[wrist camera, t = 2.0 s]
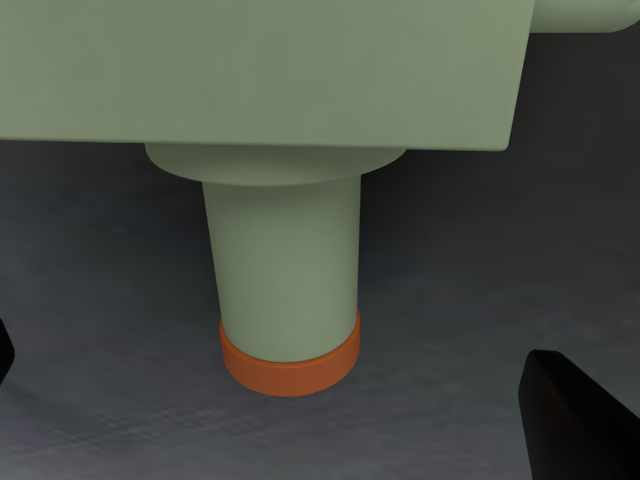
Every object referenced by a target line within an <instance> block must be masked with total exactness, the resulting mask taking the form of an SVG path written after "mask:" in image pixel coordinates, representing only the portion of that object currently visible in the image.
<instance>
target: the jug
mask: <svg viewBox="0 0 640 480" xmlns="http://www.w3.org/2000/svg"><path fill="white" fill-rule="evenodd" d="M638 20H640V0H0V140H31V141H74V142H118V143H145V148H146V153H147V155H148V156H149V158H150V160H151V161H152V162H153V163H154V164H155V165H157V166H158V167H159V168H161V169H163V170H165V171H167V172H169V173H172V174H174V175H177V176H180V177H184V178H187V179H191V180H196V181H201V182H202V186H203V192H204V199H205V206H206V213H207V220H208V227H209V233H210V240H211V247H212V254H213V261H214V268H215V275H216V281H217V288H218V295H219V302H220V309H221V319H220V323H219V332H220V339H221V346H222V352H223V358H224V362H225V365H226V367H227V369H228V371H229V372H230V373H231V375H232V376H233V377H234V378H235V379H236V380H237V381H238V382H240V383H241V384H242V385H244V386H246V387H247V388H249V389H251V390H254V391H256V392H259V393H262V394H266V395H271V396H279V397H293V396H302V395H308V394H312V393H315V392H319V391H321V390H324V389H326V388H328V387H330V386H332V385H334V384H335V383H337V382H338V381H340V380H341V379H342V378H343V377H344V376H345V375H347V374H348V372H349V371H350V370H351V369H352V367H353V366H354V364H355V362H356V360H357V358H358V355H359V349H360V324H361V321H360V314H359V310H358V308H357V286H358V254H359V222H360V190H361V174H364V173H368V172H370V171H373V170H376V169H378V168H381V167H383V166H385V165H387V164H389V163H391V162H393V161H394V160H396V159H397V158H399V157H400V156H401V155H402V154H403V153H404V152H405V151H406V149H423V150H466V151H503V150H506V148H507V146H508V143H509V138H510V132H511V127H512V122H513V116H514V111H515V106H516V100H517V95H518V90H519V84H520V79H521V74H522V68H523V63H524V58H525V52H526V47H527V42H528V36H529V33H606V32H615V31H619V30H622V29H625V28H627V27H629V26H631V25H633V24H634V23H636V22H637V21H638Z"/></svg>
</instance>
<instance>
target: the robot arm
mask: <svg viewBox="0 0 640 480" xmlns="http://www.w3.org/2000/svg"><path fill="white" fill-rule="evenodd" d="M14 358H15V350H14V347H13V344H12V342H11V340H10V337H9V335H8V333H7V331H6V328H5V326H4V324H3V321H2V320H1V318H0V385H1V383H2V382H3V380H4V378H5V376H6V375H7V373H8V371H9V369H10V367H11V366H12V364H13V361H14ZM518 398H519V406H520V411H521V417H522V422H523V428H524V433H525V439H526V444H527V450H528V456H529V461H530V467H531V472H532V478H533V480H640V418H638V417H637V416H636V415H635V414H634V413H632V412H631V411H630V410H629V409H628V408H626V407H625V406H624V405H623V404H622V403H620V402H619V401H618V400H617V399H616V398H614V397H613V396H612V395H611V394H610V393H608V392H607V391H606V390H605V389H604V388H602V387H601V386H600V385H599V384H598V383H596V382H595V381H594V380H593V379H592V378H590V377H589V376H588V375H587V374H586V373H584V372H583V371H582V370H581V369H580V368H578V367H577V366H576V365H575V364H574V363H572V362H571V361H570V360H569V359H568V358H566V357H565V356H564V355H563V354H561V353H560V352H558V351H551V350H536V349H535V350H532V351H530V352H529V354H528V356H527V359H526V363H525V366H524V370H523V374H522V377H521V381H520V385H519V391H518Z"/></svg>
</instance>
